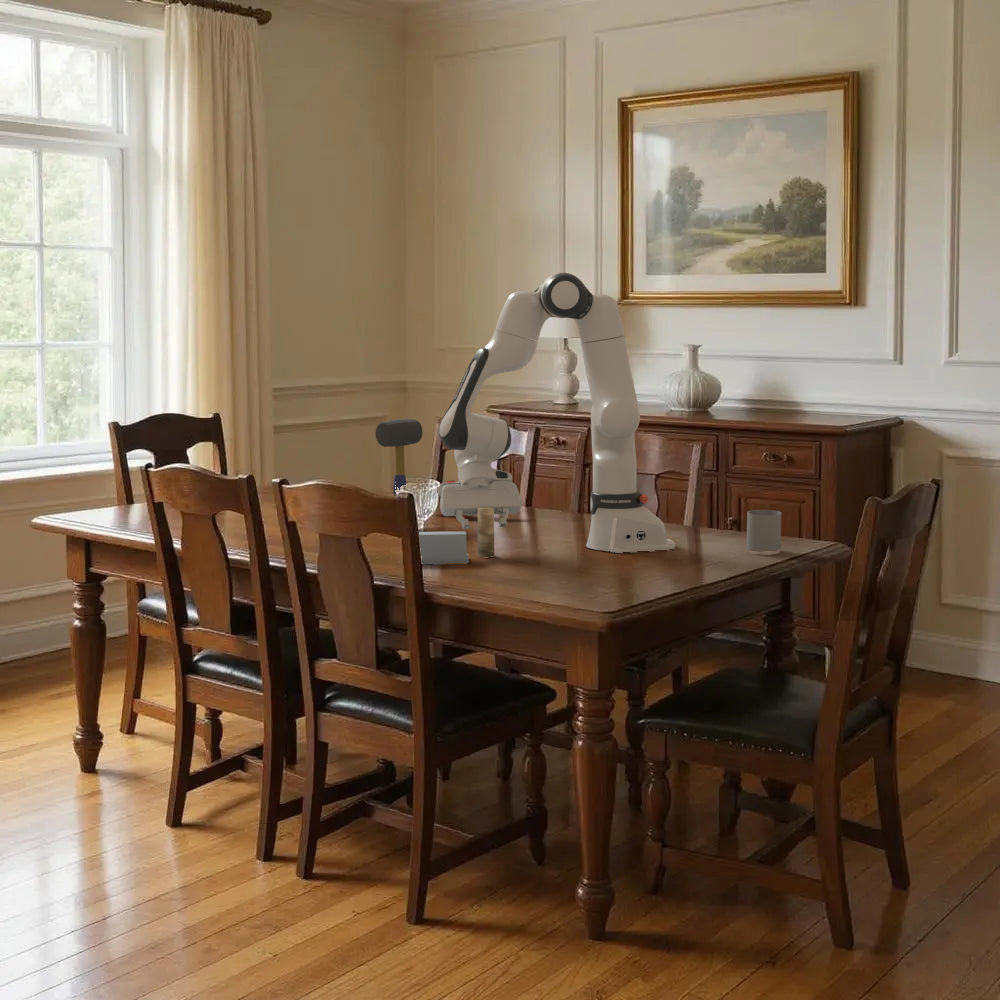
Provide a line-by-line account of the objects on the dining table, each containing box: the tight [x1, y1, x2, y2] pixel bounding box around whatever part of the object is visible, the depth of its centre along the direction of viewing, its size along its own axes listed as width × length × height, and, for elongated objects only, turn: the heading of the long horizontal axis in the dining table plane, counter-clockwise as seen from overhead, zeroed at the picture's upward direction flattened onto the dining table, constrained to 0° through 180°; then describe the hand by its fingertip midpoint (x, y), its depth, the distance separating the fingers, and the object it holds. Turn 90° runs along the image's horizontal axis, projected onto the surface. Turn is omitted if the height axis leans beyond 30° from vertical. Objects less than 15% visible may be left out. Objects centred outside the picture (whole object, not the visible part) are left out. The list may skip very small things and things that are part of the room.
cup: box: [746, 509, 782, 552], centre depth 345 cm, size 8×8×10 cm
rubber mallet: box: [374, 418, 423, 495], centre depth 384 cm, size 12×8×30 cm, turn 136°
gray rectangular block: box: [418, 530, 470, 566], centre depth 336 cm, size 15×7×7 cm, turn 93°
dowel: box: [477, 507, 495, 558], centre depth 342 cm, size 4×4×12 cm
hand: (484, 526), depth 342 cm, fingers open, 8 cm apart
